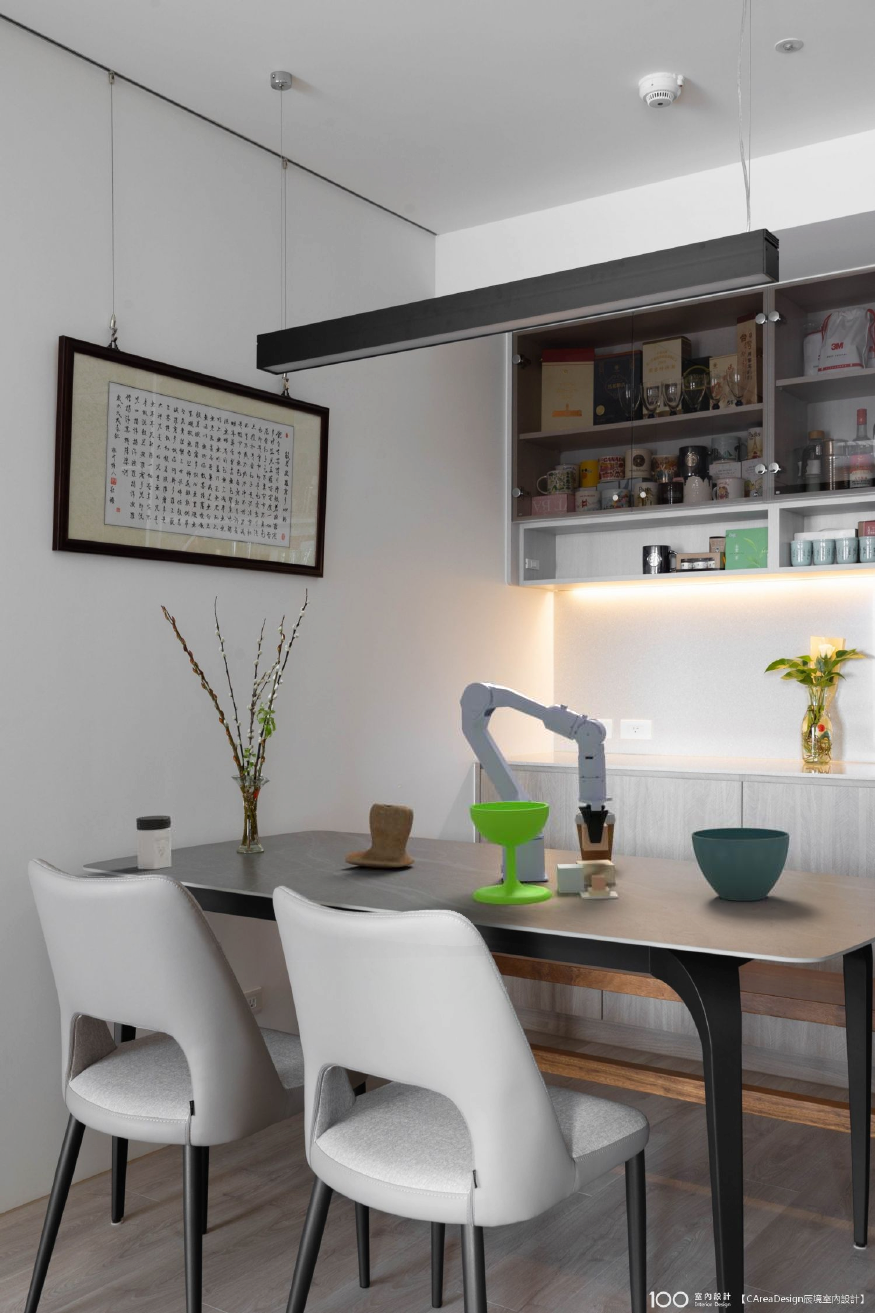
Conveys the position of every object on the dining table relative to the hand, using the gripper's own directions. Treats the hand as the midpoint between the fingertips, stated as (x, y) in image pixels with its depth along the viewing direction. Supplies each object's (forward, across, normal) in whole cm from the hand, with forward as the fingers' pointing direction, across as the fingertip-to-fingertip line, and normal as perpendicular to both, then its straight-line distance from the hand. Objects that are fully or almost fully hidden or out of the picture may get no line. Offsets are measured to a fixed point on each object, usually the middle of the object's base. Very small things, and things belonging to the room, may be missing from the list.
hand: (594, 841), depth 242 cm
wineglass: (+9, -15, +18) cm, 25 cm away
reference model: (+8, -17, +1) cm, 19 cm away
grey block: (+8, -10, +6) cm, 14 cm away
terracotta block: (+2, 0, 0) cm, 2 cm away
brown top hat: (+9, +25, +47) cm, 54 cm away
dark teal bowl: (+9, -21, -26) cm, 35 cm away
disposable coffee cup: (+8, +18, -2) cm, 20 cm away
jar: (+9, +33, +104) cm, 109 cm away
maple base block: (+9, 0, 0) cm, 9 cm away
